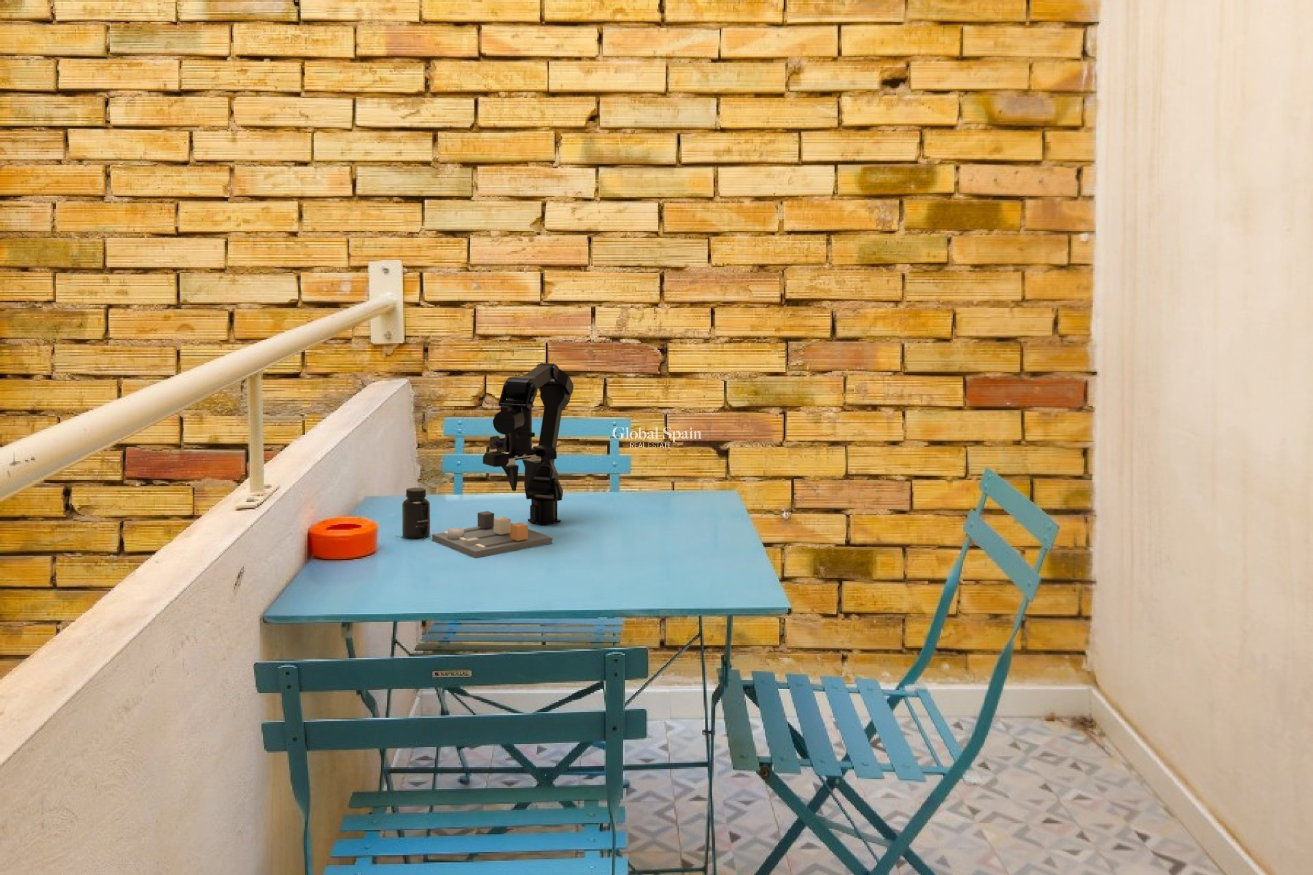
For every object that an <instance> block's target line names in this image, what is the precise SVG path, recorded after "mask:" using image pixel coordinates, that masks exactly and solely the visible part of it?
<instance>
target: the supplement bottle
mask: <svg viewBox="0 0 1313 875" xmlns="http://www.w3.org/2000/svg"><path fill="white" fill-rule="evenodd" d="M405 497H406V499H404V500H403V502H402V504H401V505H402V506H401V510H402V511H401V514H402V515H401V516H402V517H401V518H402V519H401V520H402V524H401V526H402V528H401V529H402V530H401V531H402V536H403V538H405V539H408V540H409V539H410V540H420V539H421V540H422V539H426V538H429V536H430V535H431V504H430V503H431V502H430V501H429V500H428V499H427V498H426V497H427V490H426V488H423V487H409V488H406V490H405Z"/></svg>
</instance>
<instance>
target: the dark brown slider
mask: <svg viewBox="0 0 1313 875" xmlns="http://www.w3.org/2000/svg"><path fill="white" fill-rule="evenodd" d="M494 518H495V513H494V512H491V511H489V510H487V511H486V510H485V511H480V512H477V527H481V528H484V529H485V528H490V527H494Z"/></svg>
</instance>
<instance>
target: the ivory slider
mask: <svg viewBox="0 0 1313 875" xmlns="http://www.w3.org/2000/svg"><path fill="white" fill-rule="evenodd" d="M511 523H512V520H511V518H509V517H506V516H501V517H494V532H495V533H497V534H500V535H501V534H507V533H511Z"/></svg>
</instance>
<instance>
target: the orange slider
mask: <svg viewBox="0 0 1313 875" xmlns="http://www.w3.org/2000/svg"><path fill="white" fill-rule="evenodd" d="M528 529H529V524H526V523H523V522H518V523H513V524H511V539H514V540H517V541H520V540H525V539H528Z"/></svg>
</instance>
